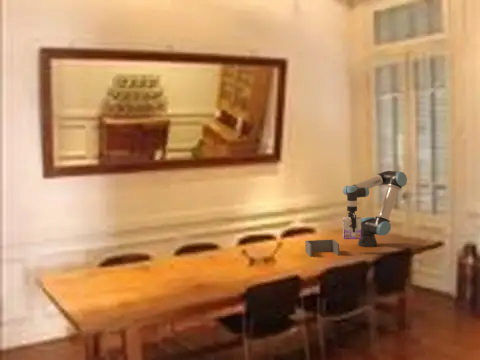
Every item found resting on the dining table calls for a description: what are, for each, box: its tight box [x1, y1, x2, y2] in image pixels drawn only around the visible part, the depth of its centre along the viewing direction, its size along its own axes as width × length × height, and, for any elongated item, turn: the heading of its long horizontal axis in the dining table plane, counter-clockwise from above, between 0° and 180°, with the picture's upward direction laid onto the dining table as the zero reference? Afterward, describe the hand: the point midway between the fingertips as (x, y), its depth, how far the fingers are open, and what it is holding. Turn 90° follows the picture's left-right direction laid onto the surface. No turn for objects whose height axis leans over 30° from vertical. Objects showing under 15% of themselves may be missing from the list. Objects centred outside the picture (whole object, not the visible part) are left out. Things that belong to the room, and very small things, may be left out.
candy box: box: [342, 216, 362, 240], centre depth 474 cm, size 14×6×16 cm, turn 85°
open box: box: [304, 239, 340, 258], centre depth 475 cm, size 22×17×9 cm
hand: (352, 235), depth 475 cm, fingers closed on candy box, 6 cm apart
